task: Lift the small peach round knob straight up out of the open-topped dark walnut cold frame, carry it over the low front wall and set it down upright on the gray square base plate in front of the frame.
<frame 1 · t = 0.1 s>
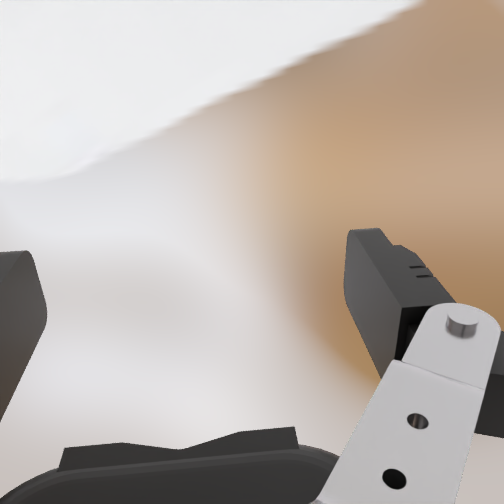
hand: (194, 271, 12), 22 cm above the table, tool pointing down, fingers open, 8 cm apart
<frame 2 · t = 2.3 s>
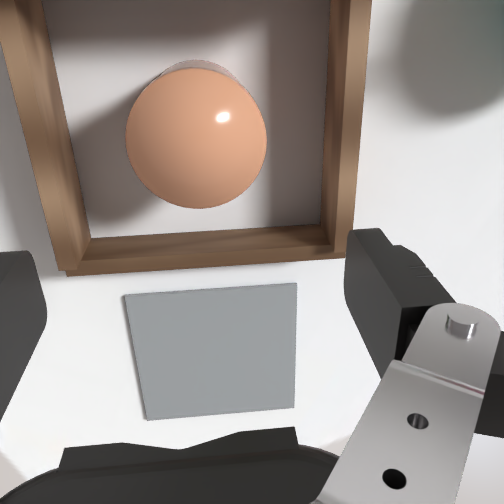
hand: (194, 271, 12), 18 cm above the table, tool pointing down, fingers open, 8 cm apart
gray square base plate: (217, 354, 36), on the table
cold frame: (198, 115, 28), on the table
peach round knob: (197, 127, 25), in the cold frame
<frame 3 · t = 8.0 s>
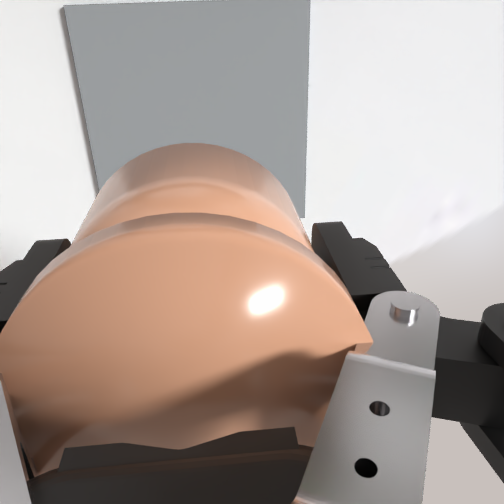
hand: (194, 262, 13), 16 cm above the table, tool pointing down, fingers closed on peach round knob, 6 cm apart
gray square base plate: (199, 123, 26), on the table
peach round knob: (194, 309, 11), point 18 cm above the table, touching gripper
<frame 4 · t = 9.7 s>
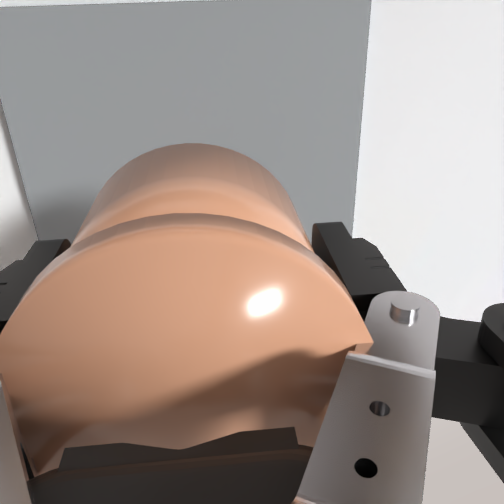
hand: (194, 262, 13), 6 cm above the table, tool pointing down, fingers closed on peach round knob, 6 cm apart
gray square base plate: (195, 184, 18), on the table
peach round knob: (194, 310, 11), point 8 cm above the table, touching gripper
when the fingers open (3 cm above the table, at t = 11.4 s): peach round knob drops 1 cm, resting on gray square base plate.
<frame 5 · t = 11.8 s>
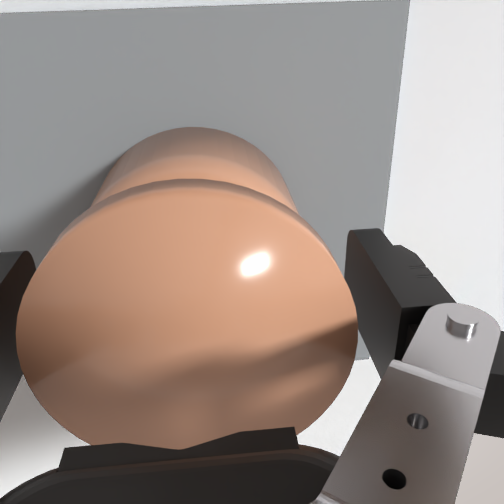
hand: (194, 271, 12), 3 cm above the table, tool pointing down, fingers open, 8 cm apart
gray square base plate: (196, 221, 15), on the table
peach round knob: (195, 275, 12), resting on gray square base plate
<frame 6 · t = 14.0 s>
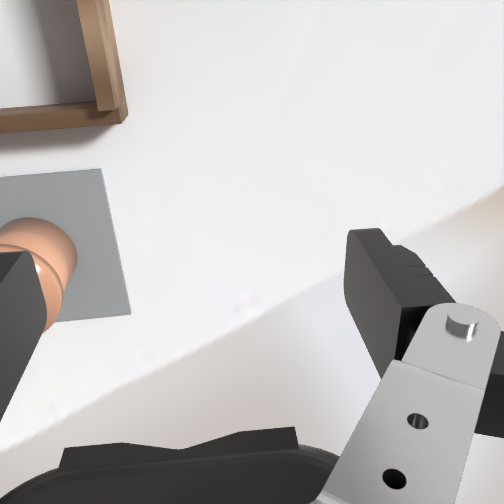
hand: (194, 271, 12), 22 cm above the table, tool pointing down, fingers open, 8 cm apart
gray square base plate: (36, 253, 36), on the table
peach round knob: (21, 274, 33), resting on gray square base plate
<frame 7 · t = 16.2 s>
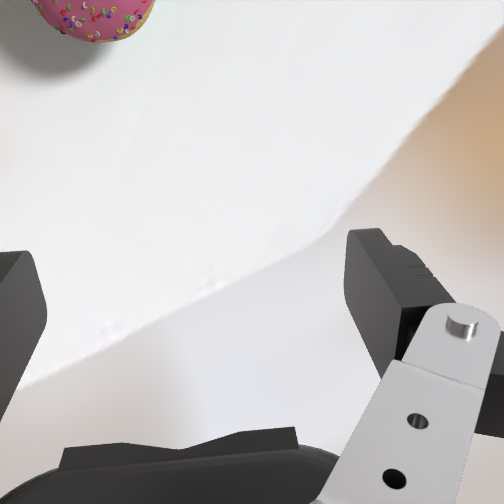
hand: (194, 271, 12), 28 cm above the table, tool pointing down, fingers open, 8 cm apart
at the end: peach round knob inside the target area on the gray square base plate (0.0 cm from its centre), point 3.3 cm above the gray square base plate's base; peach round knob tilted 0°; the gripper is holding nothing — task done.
